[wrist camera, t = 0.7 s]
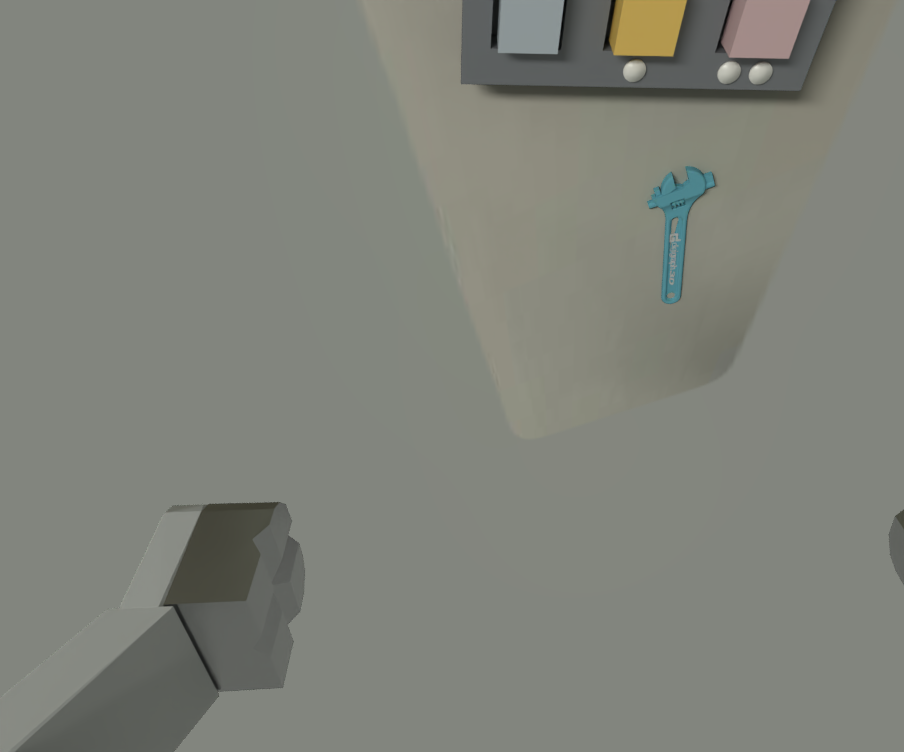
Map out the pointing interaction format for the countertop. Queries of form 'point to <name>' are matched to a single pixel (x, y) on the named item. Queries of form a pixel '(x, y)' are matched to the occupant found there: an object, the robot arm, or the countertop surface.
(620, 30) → the button one
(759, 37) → the button two
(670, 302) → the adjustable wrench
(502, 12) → the button none
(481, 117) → the countertop surface
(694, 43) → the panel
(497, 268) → the countertop surface
